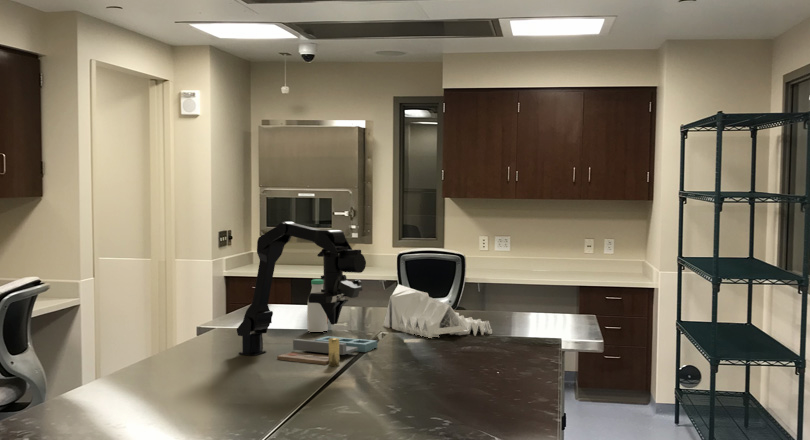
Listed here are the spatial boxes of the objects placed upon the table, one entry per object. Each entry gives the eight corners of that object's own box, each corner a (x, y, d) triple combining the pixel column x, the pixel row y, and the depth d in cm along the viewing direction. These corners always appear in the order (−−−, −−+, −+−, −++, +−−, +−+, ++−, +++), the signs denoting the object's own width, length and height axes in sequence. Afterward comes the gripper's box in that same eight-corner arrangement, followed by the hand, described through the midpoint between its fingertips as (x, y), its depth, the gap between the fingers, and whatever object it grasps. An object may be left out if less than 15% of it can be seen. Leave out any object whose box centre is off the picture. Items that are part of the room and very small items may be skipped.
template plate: (325, 364, 218) (325, 361, 218) (277, 359, 226) (277, 355, 226) (339, 359, 225) (339, 356, 225) (292, 354, 234) (292, 351, 234)
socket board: (365, 352, 237) (365, 344, 237) (314, 347, 246) (314, 339, 246) (377, 348, 244) (377, 340, 244) (327, 343, 254) (327, 336, 254)
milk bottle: (326, 333, 274) (326, 280, 274) (306, 333, 274) (305, 280, 274) (328, 330, 282) (328, 278, 282) (309, 330, 282) (308, 278, 282)
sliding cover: (343, 354, 226) (343, 344, 226) (293, 349, 235) (293, 339, 235) (357, 349, 234) (357, 339, 234) (309, 345, 243) (309, 335, 243)
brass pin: (335, 367, 215) (335, 340, 215) (326, 366, 216) (326, 339, 216) (341, 365, 217) (341, 338, 217) (332, 364, 219) (332, 337, 219)
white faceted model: (494, 335, 272) (494, 290, 272) (435, 342, 258) (435, 295, 258) (432, 321, 307) (432, 281, 307) (378, 326, 293) (377, 285, 293)
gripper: (339, 274, 205) (340, 330, 205) (372, 270, 221) (372, 321, 222) (306, 274, 210) (307, 328, 210) (340, 269, 227) (341, 319, 227)
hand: (334, 324), depth 217 cm, fingers closed
